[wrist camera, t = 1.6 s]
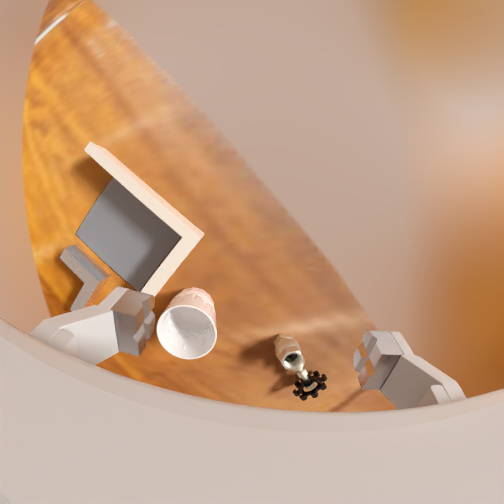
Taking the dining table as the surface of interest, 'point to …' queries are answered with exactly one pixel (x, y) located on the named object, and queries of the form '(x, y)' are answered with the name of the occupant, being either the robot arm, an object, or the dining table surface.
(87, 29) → the dining table surface
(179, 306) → the white cup
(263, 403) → the dining table surface
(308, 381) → the valve
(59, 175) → the dining table surface
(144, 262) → the mat
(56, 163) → the dining table surface
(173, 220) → the corner walls
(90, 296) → the bracket
